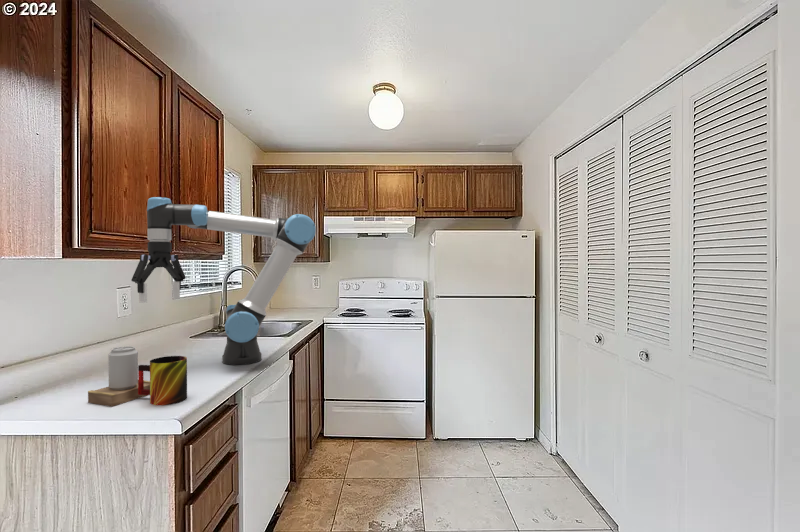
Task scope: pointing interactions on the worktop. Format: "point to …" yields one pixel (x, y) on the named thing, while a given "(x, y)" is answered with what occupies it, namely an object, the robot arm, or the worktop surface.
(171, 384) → the mug
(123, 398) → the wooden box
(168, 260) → the robot arm
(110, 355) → the can
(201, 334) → the worktop surface
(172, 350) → the worktop surface
